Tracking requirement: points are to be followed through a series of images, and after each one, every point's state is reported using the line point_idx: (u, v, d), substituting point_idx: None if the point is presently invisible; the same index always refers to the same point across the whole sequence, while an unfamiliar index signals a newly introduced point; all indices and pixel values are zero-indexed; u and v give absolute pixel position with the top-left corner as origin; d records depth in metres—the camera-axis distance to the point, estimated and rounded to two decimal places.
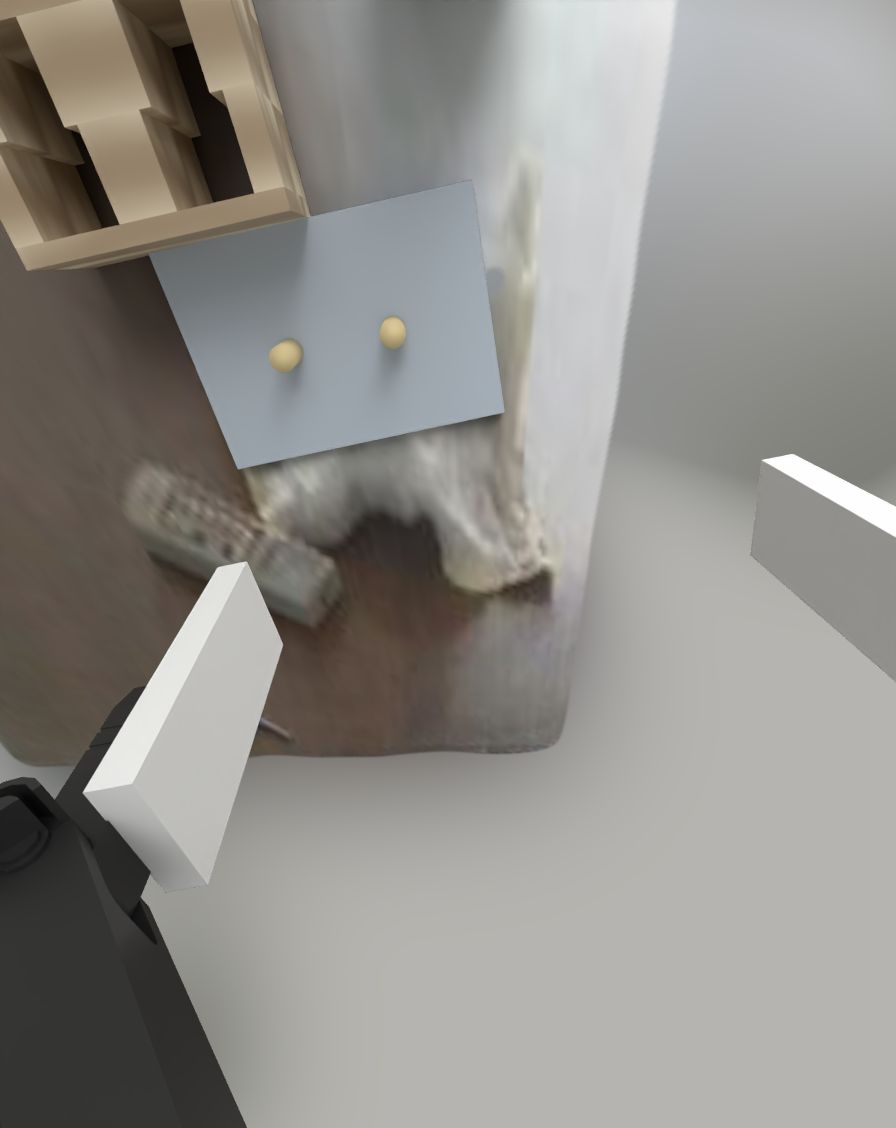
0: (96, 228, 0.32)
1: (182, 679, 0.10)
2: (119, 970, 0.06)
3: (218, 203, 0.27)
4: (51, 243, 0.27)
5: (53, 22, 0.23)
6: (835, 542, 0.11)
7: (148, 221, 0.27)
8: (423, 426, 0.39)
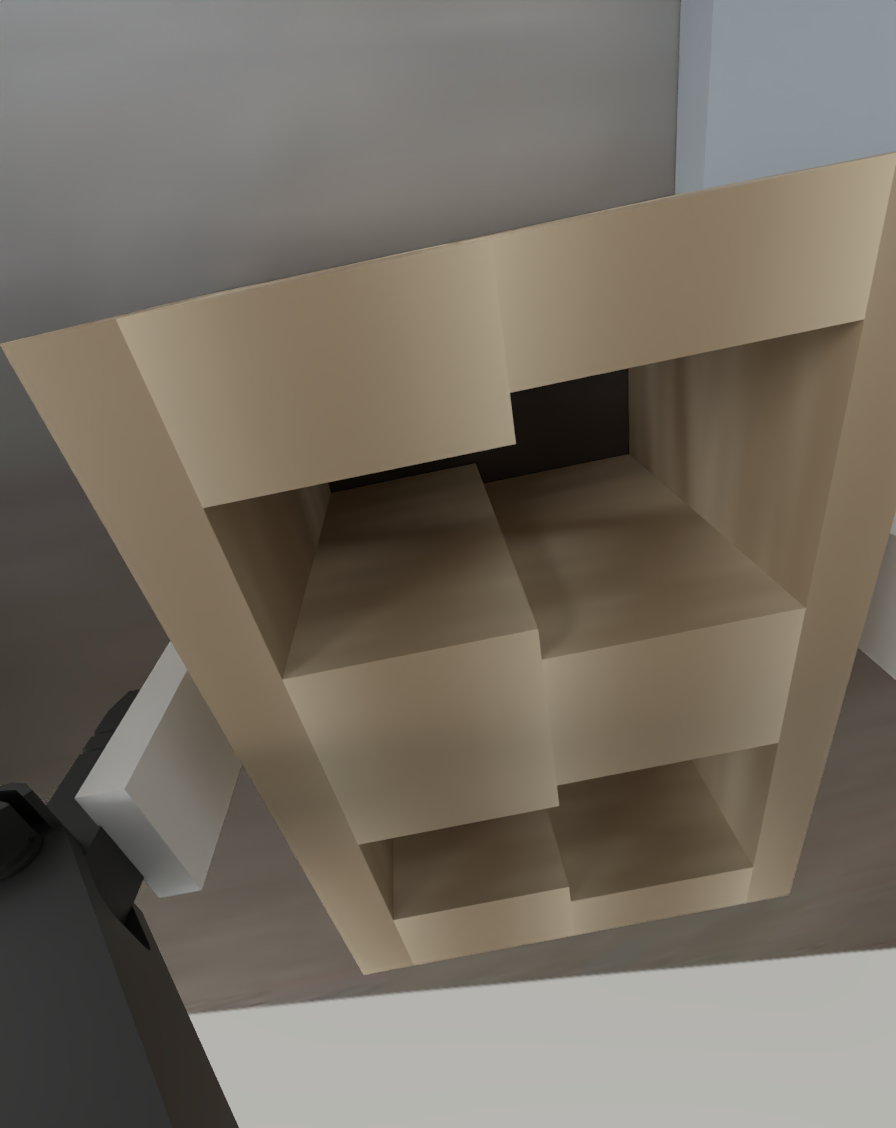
0: None
1: (176, 683, 0.10)
2: (111, 976, 0.06)
3: (837, 475, 0.07)
4: (759, 856, 0.11)
5: (361, 792, 0.09)
6: None
7: (799, 682, 0.09)
8: None
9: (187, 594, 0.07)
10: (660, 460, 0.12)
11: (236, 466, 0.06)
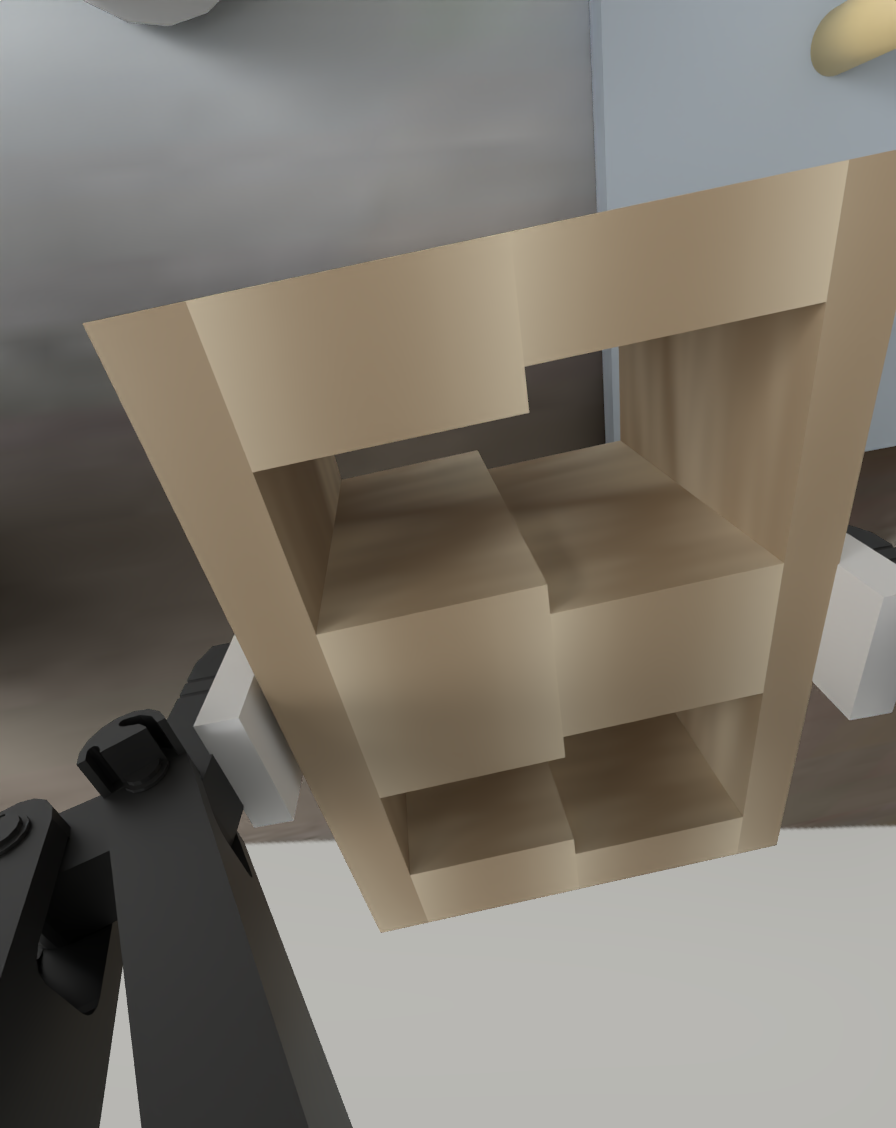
0: None
1: None
2: (228, 894, 0.06)
3: (808, 440, 0.08)
4: (748, 806, 0.12)
5: (384, 745, 0.10)
6: None
7: (780, 634, 0.10)
8: None
9: (234, 553, 0.08)
10: (650, 443, 0.13)
11: (284, 433, 0.07)
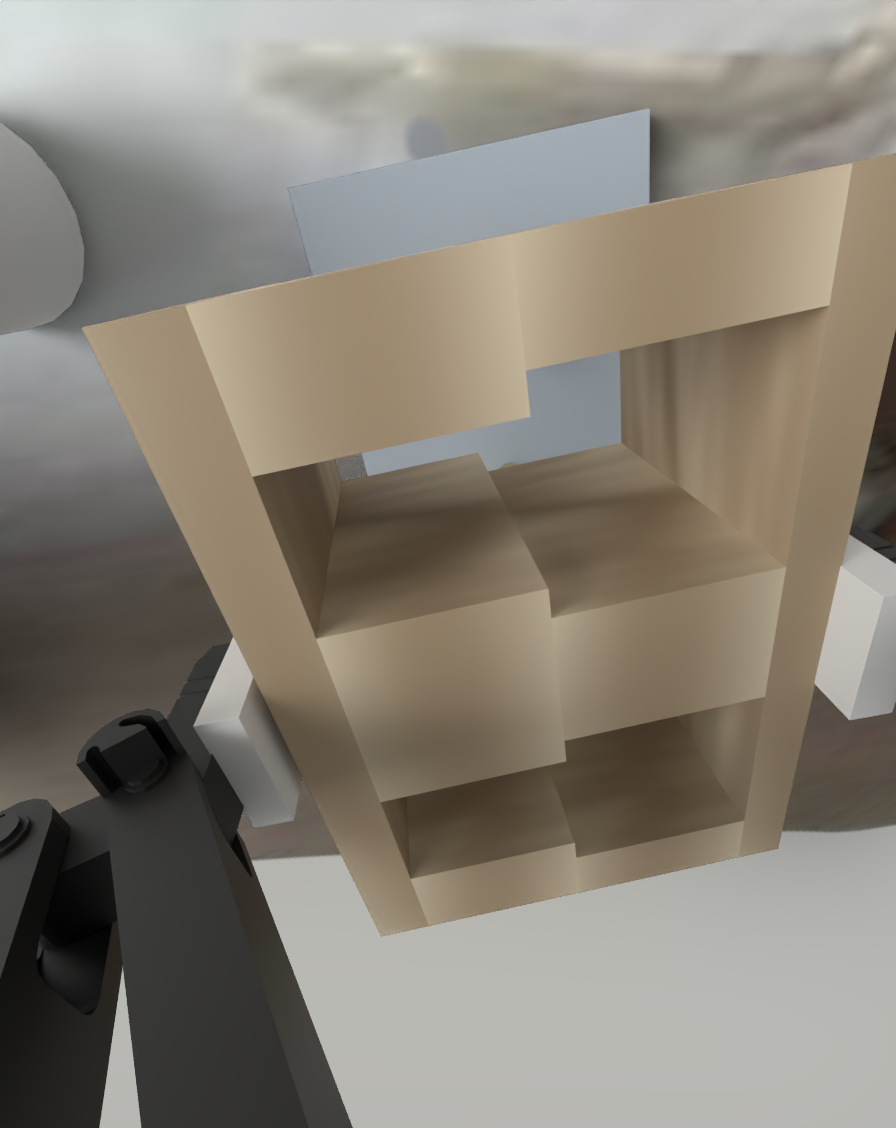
0: None
1: None
2: (227, 894, 0.06)
3: (811, 444, 0.08)
4: (750, 810, 0.12)
5: (384, 749, 0.10)
6: None
7: (782, 638, 0.10)
8: None
9: (234, 557, 0.08)
10: (652, 445, 0.13)
11: (284, 438, 0.07)
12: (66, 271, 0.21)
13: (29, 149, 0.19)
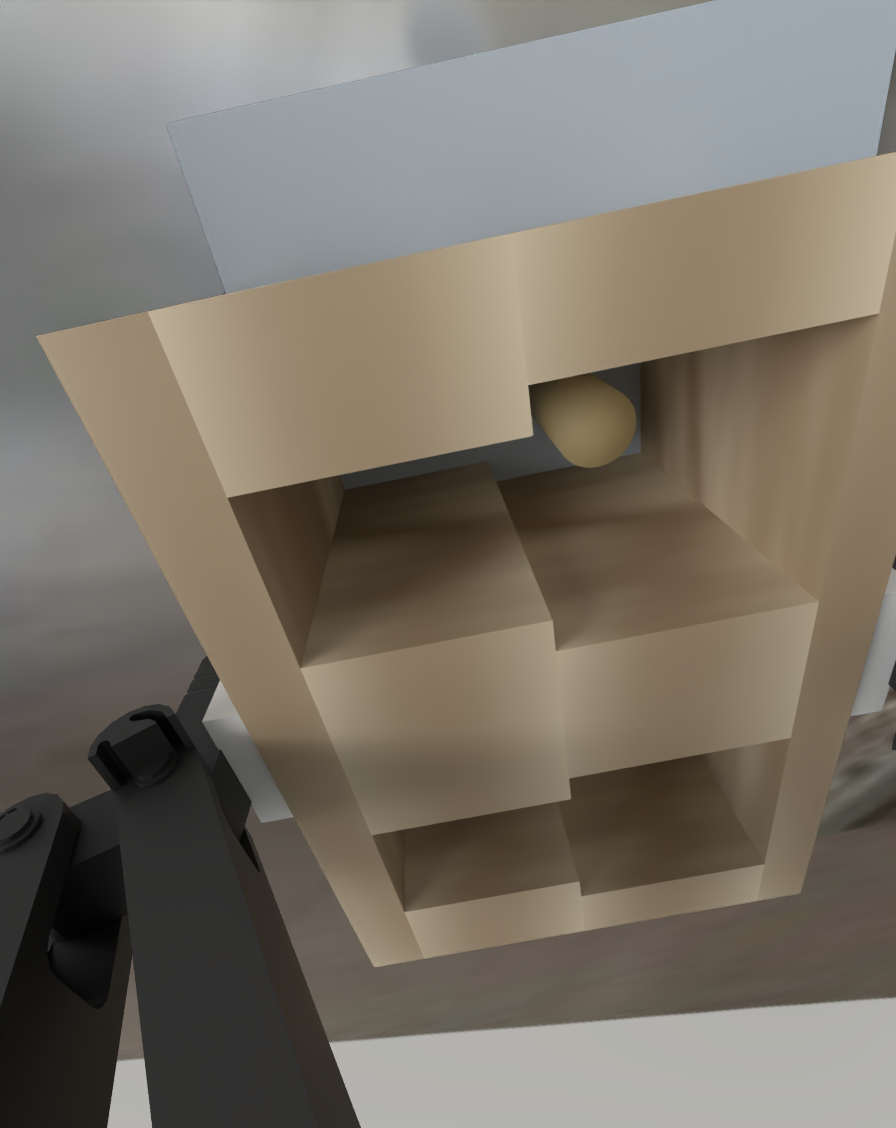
0: None
1: None
2: (236, 889, 0.06)
3: (851, 468, 0.07)
4: (771, 853, 0.11)
5: (375, 782, 0.09)
6: None
7: (811, 676, 0.09)
8: None
9: (210, 582, 0.07)
10: (672, 457, 0.12)
11: (260, 456, 0.06)
12: None
13: None
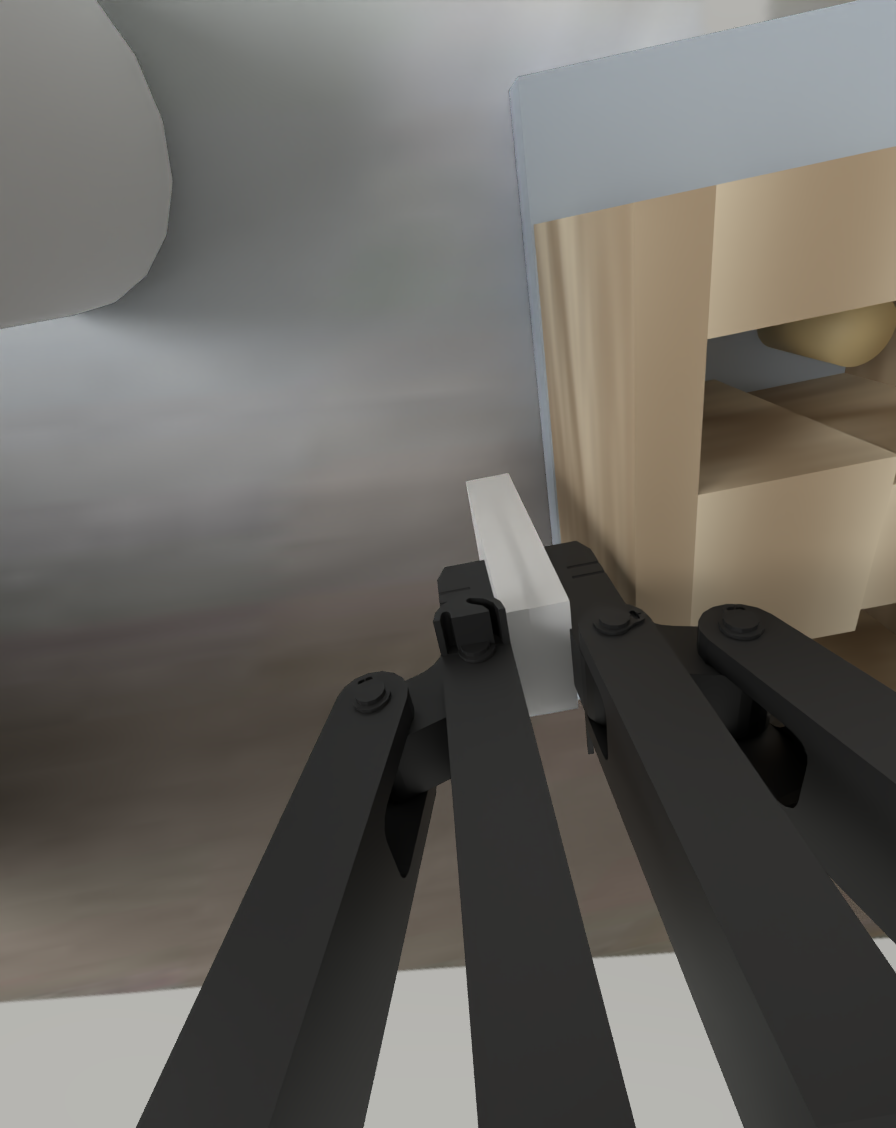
0: None
1: (514, 548, 0.12)
2: (541, 781, 0.07)
3: None
4: None
5: (711, 607, 0.12)
6: None
7: None
8: None
9: (664, 414, 0.09)
10: None
11: (744, 305, 0.09)
12: (147, 216, 0.12)
13: None
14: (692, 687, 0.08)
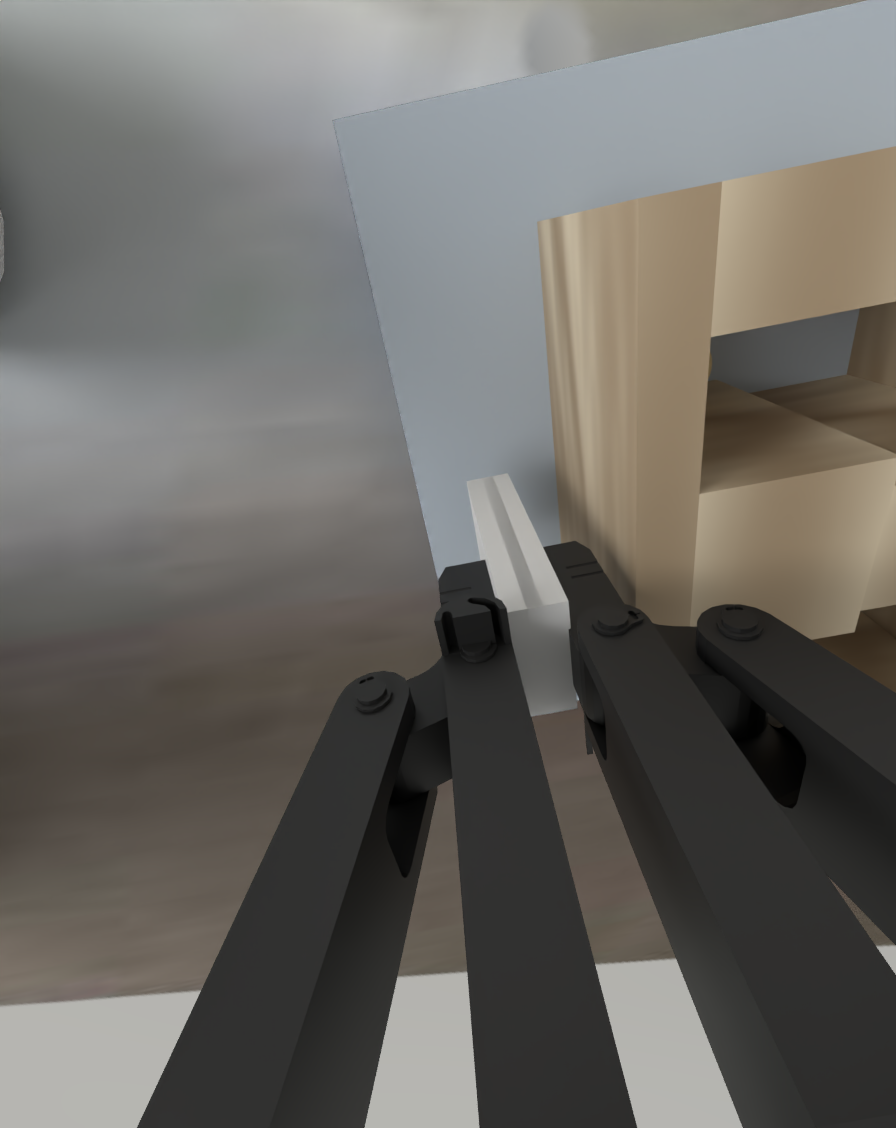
0: None
1: (515, 548, 0.12)
2: (543, 781, 0.07)
3: None
4: None
5: None
6: None
7: None
8: None
9: (667, 412, 0.09)
10: None
11: (748, 303, 0.08)
12: None
13: None
14: (691, 687, 0.08)
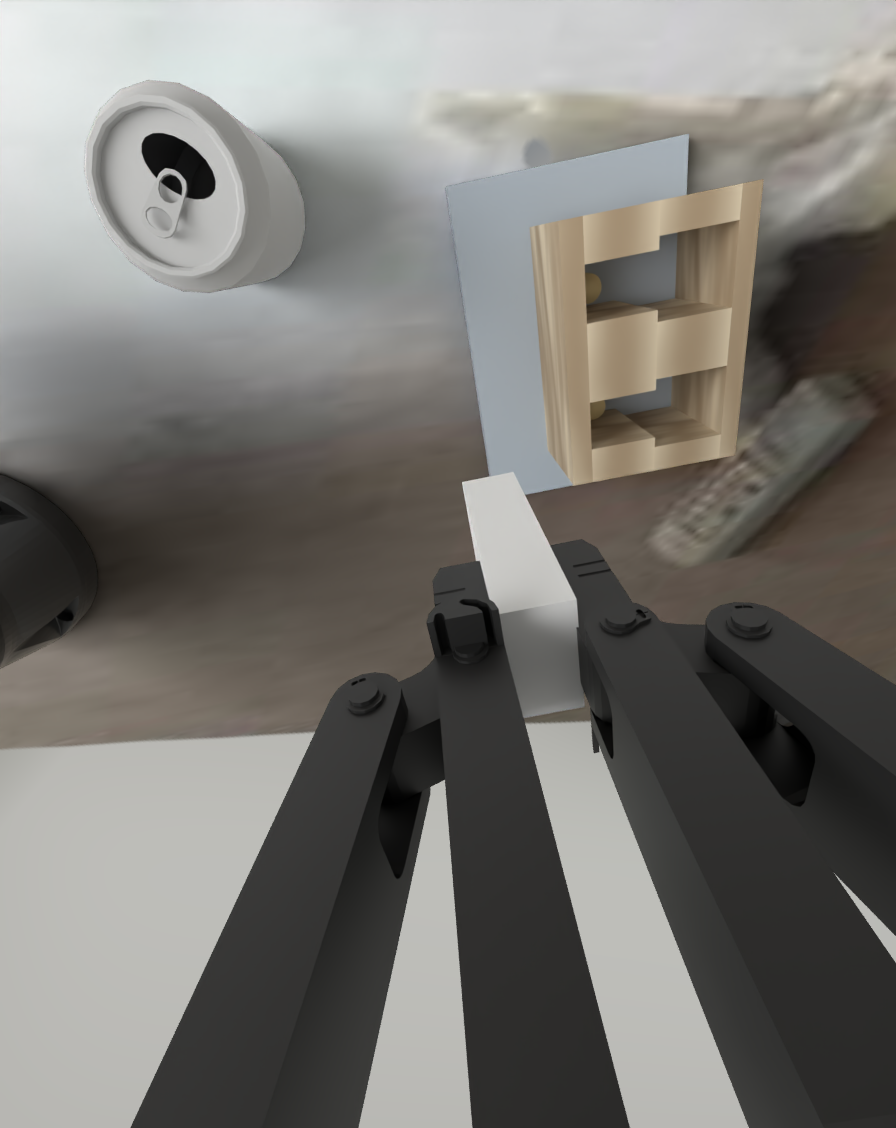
0: (664, 411, 0.37)
1: (509, 549, 0.12)
2: (535, 781, 0.07)
3: (737, 262, 0.28)
4: (723, 428, 0.32)
5: (596, 375, 0.30)
6: None
7: (731, 338, 0.29)
8: None
9: (572, 291, 0.28)
10: (688, 291, 0.33)
11: (595, 253, 0.27)
12: (298, 241, 0.31)
13: (283, 160, 0.30)
14: (699, 686, 0.08)
